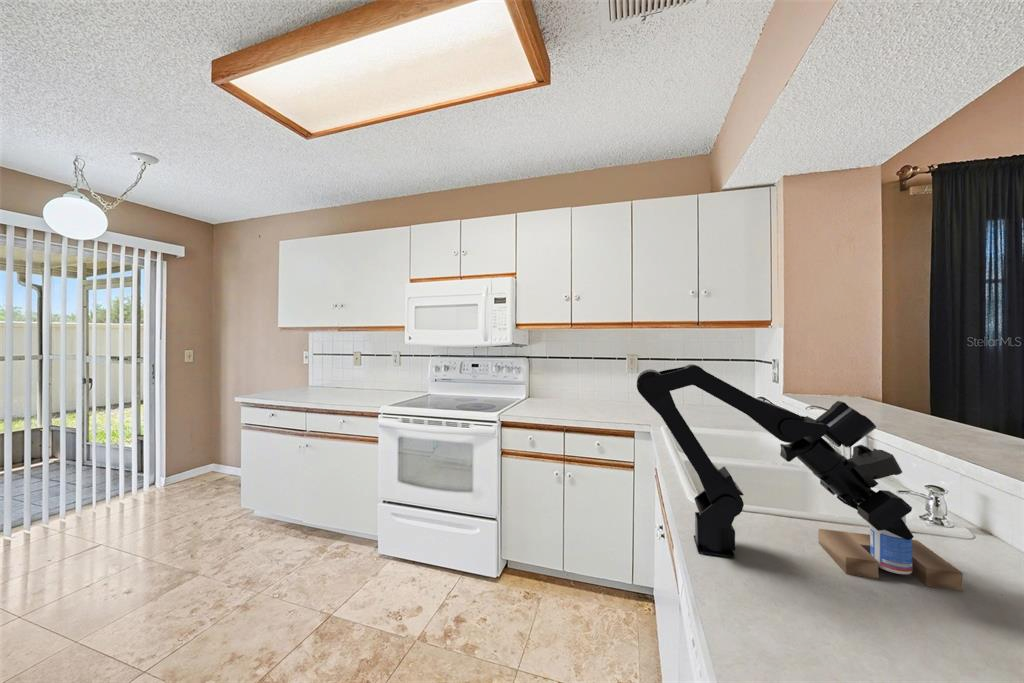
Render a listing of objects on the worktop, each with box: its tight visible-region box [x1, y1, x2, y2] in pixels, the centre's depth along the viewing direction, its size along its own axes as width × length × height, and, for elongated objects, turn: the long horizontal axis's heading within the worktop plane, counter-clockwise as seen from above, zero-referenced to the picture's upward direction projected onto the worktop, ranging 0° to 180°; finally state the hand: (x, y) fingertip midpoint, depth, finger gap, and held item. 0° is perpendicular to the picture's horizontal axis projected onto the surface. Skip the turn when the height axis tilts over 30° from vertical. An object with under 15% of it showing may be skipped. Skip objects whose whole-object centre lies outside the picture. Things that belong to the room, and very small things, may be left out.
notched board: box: [817, 528, 964, 592], centre depth 72 cm, size 16×11×3 cm
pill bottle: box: [869, 515, 913, 575], centre depth 69 cm, size 6×5×10 cm
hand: (900, 530), depth 69 cm, fingers closed on pill bottle, 5 cm apart
